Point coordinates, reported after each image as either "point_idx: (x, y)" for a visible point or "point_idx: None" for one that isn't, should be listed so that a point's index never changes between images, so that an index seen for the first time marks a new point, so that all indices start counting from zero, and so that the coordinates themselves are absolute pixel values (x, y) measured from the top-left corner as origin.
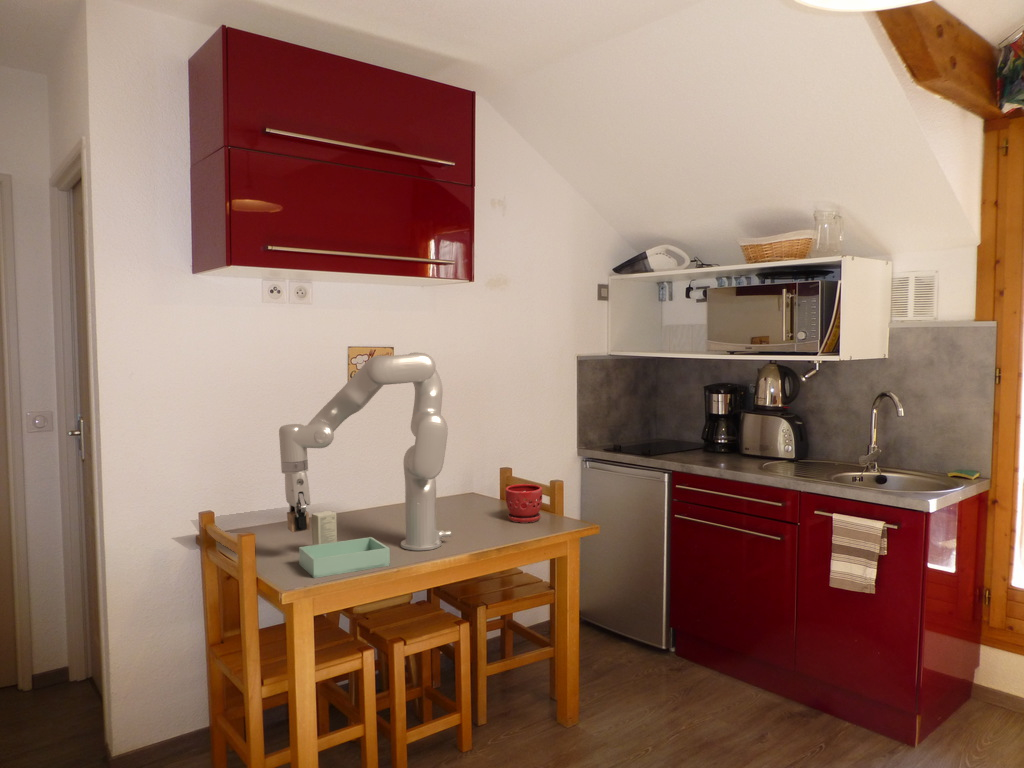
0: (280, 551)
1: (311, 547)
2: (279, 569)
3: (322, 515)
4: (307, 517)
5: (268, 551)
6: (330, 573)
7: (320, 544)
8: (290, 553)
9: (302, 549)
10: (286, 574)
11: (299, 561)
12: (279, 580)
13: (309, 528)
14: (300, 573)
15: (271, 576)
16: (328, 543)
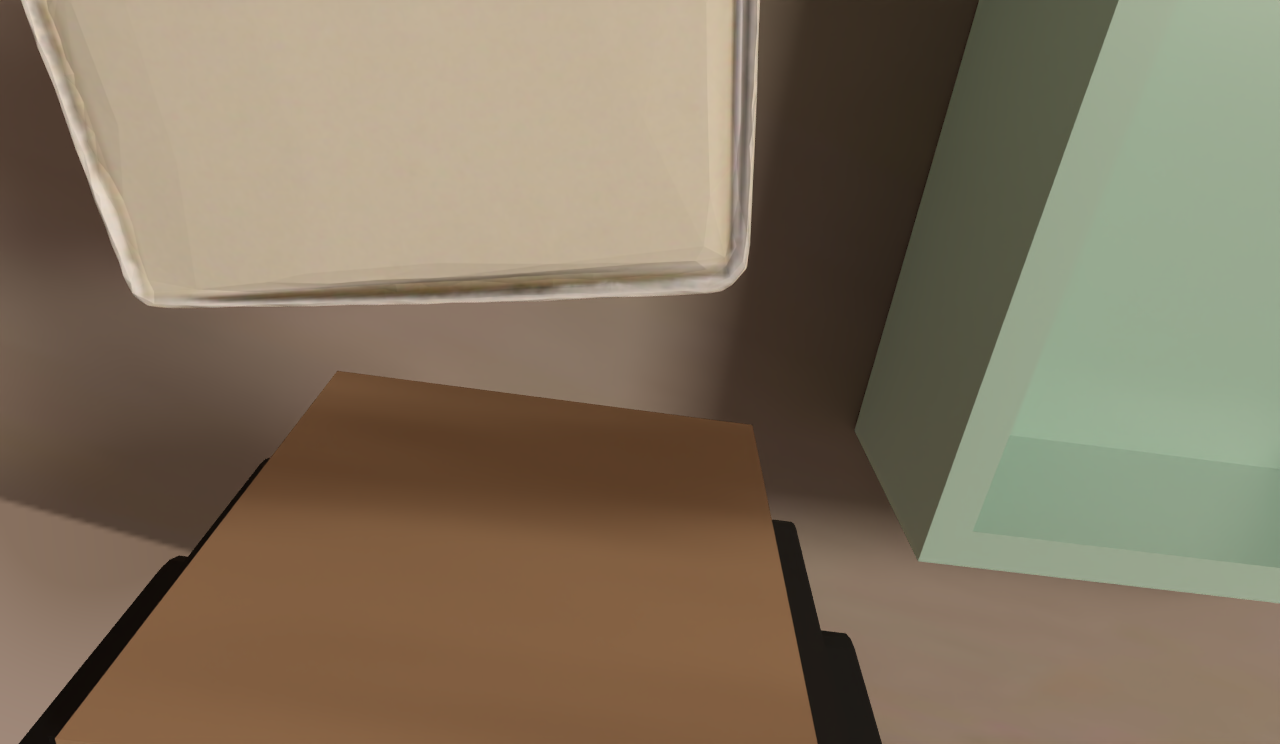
0: (160, 389)
1: (1011, 403)
2: (859, 622)
3: (735, 47)
4: (784, 689)
5: (98, 488)
6: None
7: (1049, 255)
8: (318, 332)
9: (1070, 570)
10: (1061, 630)
11: (869, 450)
12: (1165, 720)
13: (751, 437)
14: None
15: (1004, 728)
16: (1112, 103)
